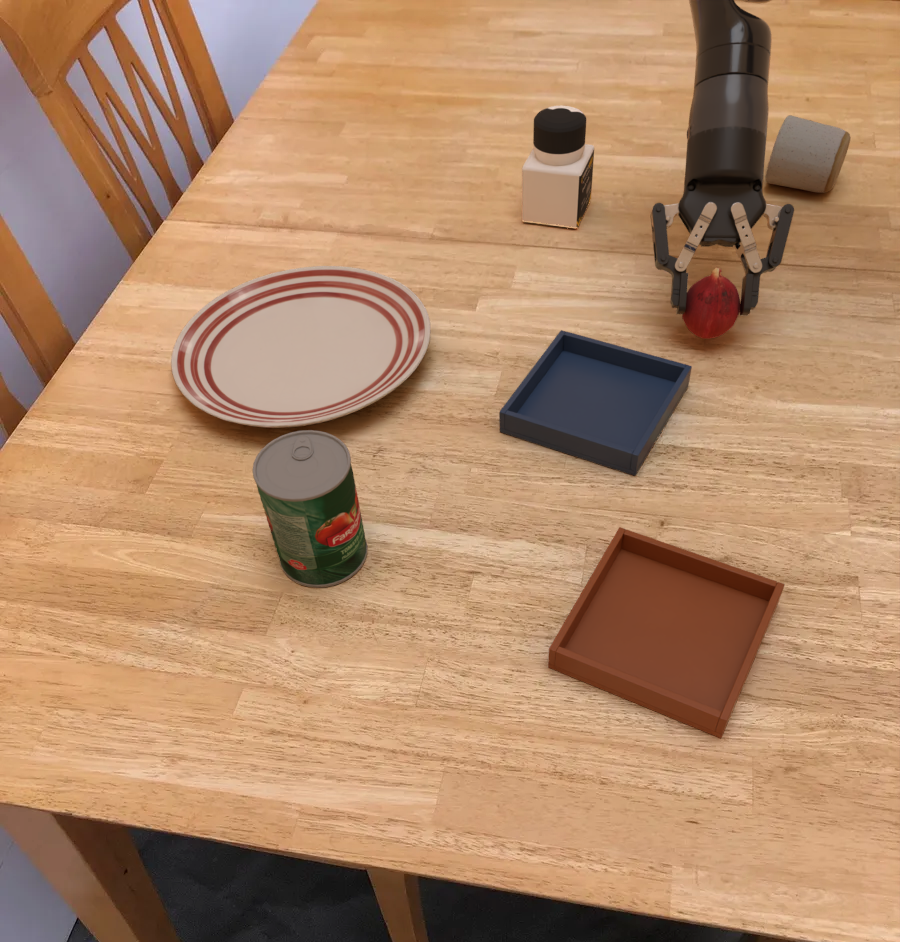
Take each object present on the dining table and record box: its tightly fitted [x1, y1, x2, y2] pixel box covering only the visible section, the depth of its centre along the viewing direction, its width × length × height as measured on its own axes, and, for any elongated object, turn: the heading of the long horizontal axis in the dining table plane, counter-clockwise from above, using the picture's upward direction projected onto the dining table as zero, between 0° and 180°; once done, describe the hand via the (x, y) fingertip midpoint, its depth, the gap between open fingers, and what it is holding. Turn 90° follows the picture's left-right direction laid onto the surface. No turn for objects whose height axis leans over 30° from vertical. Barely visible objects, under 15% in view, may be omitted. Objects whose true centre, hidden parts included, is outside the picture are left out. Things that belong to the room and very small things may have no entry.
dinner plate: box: [170, 265, 432, 429], centre depth 98 cm, size 28×27×3 cm
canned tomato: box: [252, 429, 369, 589], centre depth 78 cm, size 8×8×11 cm
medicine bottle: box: [521, 105, 595, 228], centre depth 110 cm, size 7×7×12 cm
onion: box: [681, 266, 741, 340], centre depth 95 cm, size 6×6×8 cm
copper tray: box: [547, 526, 785, 739], centre depth 74 cm, size 14×14×3 cm
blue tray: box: [498, 329, 693, 477], centre depth 91 cm, size 14×14×3 cm
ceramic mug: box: [765, 114, 851, 193], centre depth 113 cm, size 11×8×8 cm
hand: (713, 313), depth 93 cm, fingers closed on onion, 5 cm apart
